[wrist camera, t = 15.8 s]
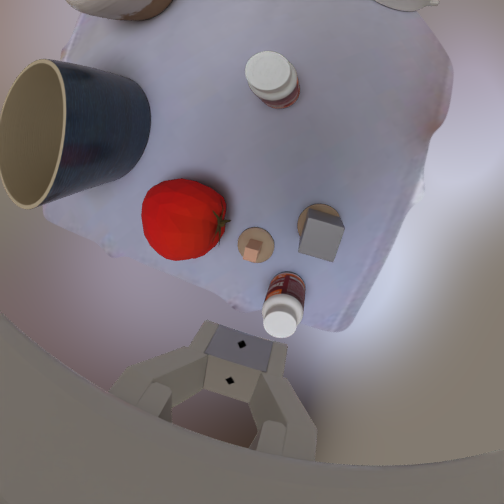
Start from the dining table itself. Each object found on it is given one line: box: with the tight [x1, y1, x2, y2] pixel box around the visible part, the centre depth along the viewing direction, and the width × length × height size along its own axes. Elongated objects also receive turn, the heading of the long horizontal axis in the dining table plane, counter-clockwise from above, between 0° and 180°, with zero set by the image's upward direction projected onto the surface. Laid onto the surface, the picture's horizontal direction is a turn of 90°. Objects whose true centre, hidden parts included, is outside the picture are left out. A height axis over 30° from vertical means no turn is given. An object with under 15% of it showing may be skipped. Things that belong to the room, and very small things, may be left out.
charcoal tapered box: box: [298, 208, 345, 262], centre depth 38 cm, size 5×5×6 cm
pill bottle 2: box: [262, 272, 305, 338], centre depth 41 cm, size 6×6×11 cm
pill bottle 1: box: [245, 51, 300, 108], centre depth 30 cm, size 6×6×11 cm
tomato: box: [141, 178, 231, 261], centre depth 40 cm, size 13×13×13 cm
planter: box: [0, 59, 150, 209], centre depth 33 cm, size 22×22×20 cm
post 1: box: [238, 227, 274, 263], centre depth 43 cm, size 6×6×4 cm
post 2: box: [298, 204, 340, 236], centre depth 39 cm, size 7×7×6 cm
